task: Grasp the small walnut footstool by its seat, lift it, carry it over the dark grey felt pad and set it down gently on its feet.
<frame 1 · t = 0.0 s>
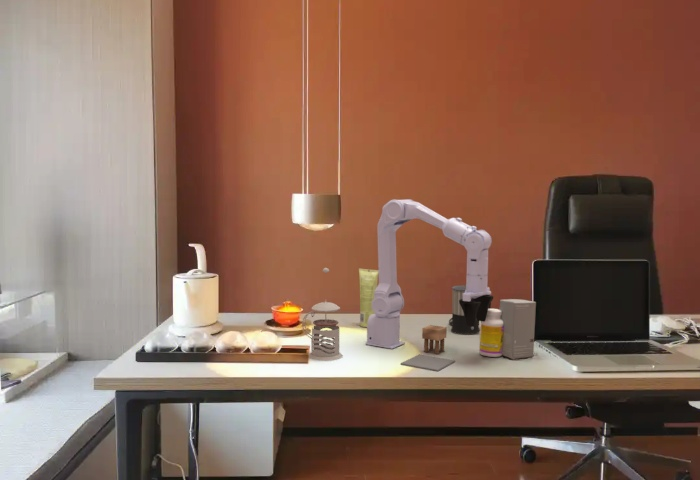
hand: (475, 323, 176), 10 cm above the table, tool pointing down, fingers open, 7 cm apart
pad: (428, 363, 173), on the table
milk frother: (462, 329, 215), on the table
tube: (367, 326, 217), on the table
skincare box: (514, 355, 181), on the table, touching supplement bottle
supplement bottle: (490, 355, 182), on the table, touching skincare box
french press: (322, 356, 180), on the table
stool: (434, 351, 185), on the table
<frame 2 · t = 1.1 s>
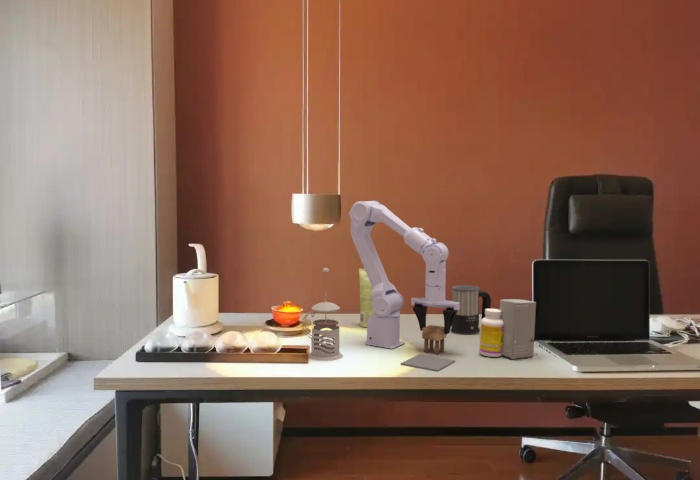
hand: (434, 331, 185), 6 cm above the table, tool pointing down, fingers open, 7 cm apart
nothing on the table moved.
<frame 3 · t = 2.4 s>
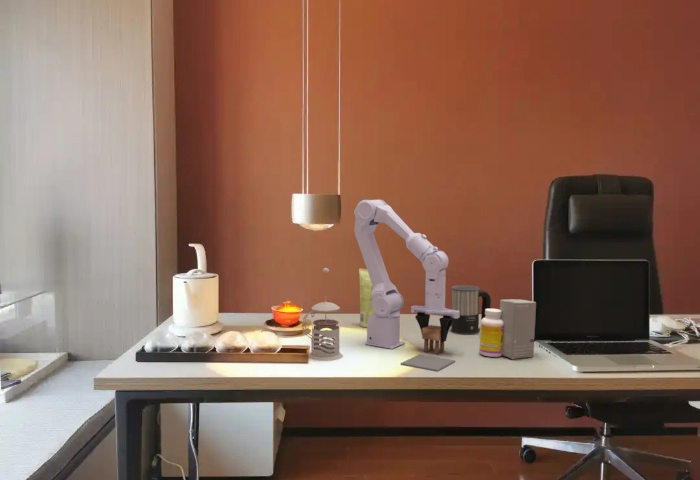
hand: (434, 339, 185), 3 cm above the table, tool pointing down, fingers closed on stool, 5 cm apart
stool: (434, 351, 185), on the table, touching gripper
everything else where it was.
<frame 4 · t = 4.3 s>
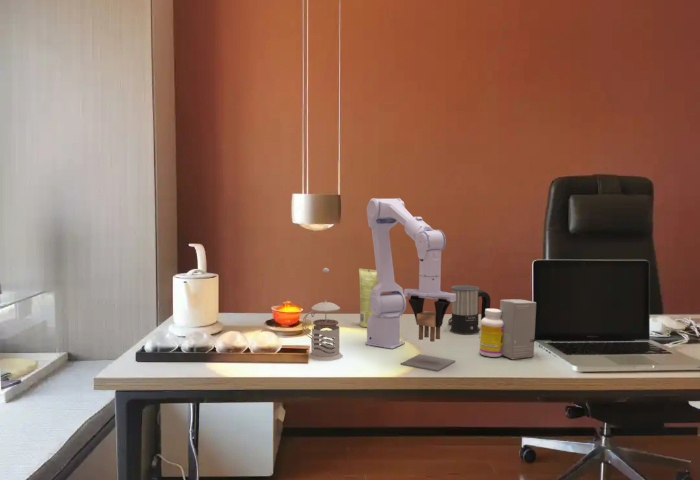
hand: (428, 325, 172), 10 cm above the table, tool pointing down, fingers closed on stool, 5 cm apart
stool: (429, 339, 173), point 7 cm above the table, touching gripper
everything else where it was.
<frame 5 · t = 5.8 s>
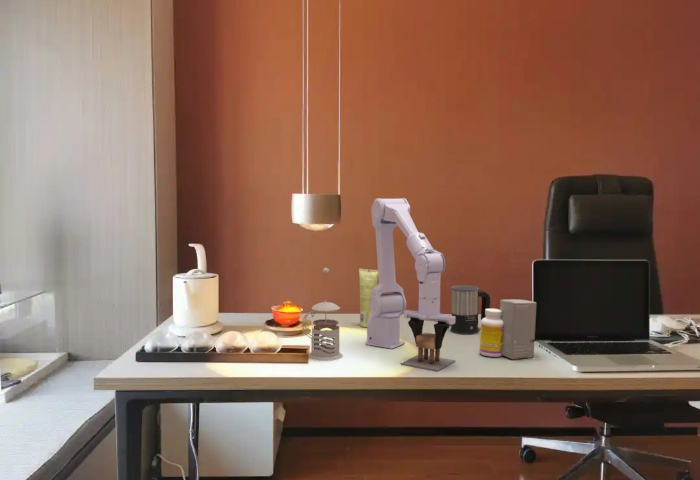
hand: (428, 347, 173), 4 cm above the table, tool pointing down, fingers closed on stool, 5 cm apart
stool: (428, 360, 173), point 1 cm above the table, touching gripper
everything else where it was.
when the fingers open (4 cm above the table, at t = 6.7 s): stool stays where it is, resting on pad.
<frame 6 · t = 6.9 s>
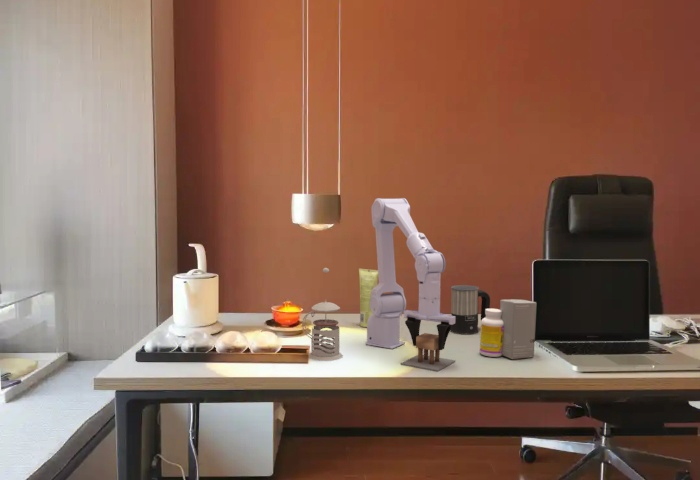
hand: (428, 347, 173), 4 cm above the table, tool pointing down, fingers open, 7 cm apart
stool: (428, 361, 173), resting on pad
everything else where it was.
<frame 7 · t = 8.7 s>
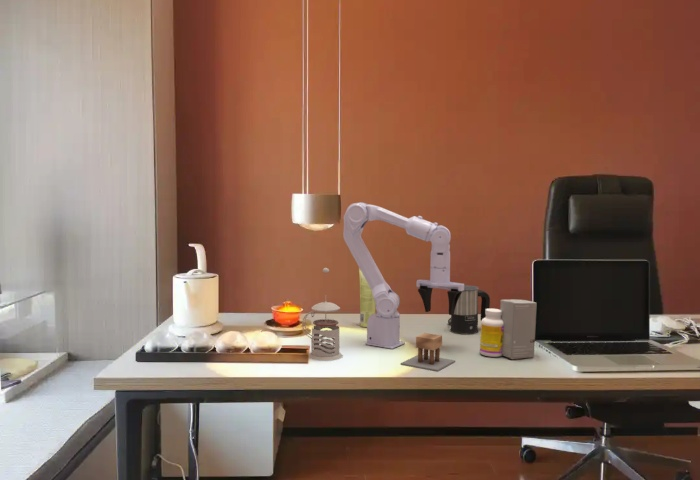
hand: (439, 312, 189), 10 cm above the table, tool pointing down, fingers open, 7 cm apart
nothing on the table moved.
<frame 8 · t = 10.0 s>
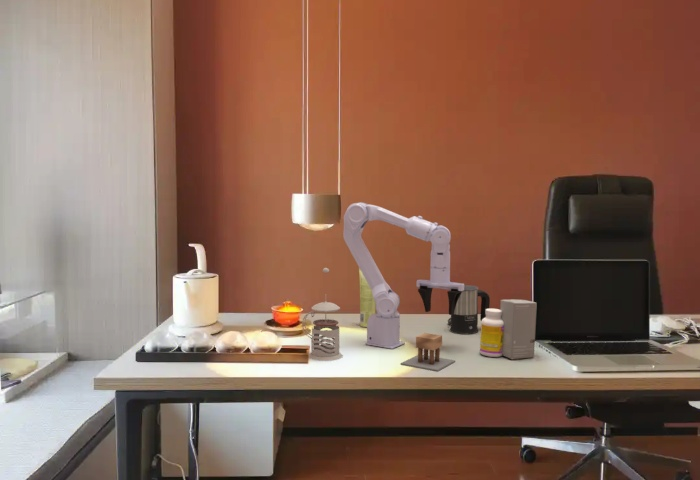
hand: (439, 312, 189), 10 cm above the table, tool pointing down, fingers open, 7 cm apart
nothing on the table moved.
at the end: stool inside the target area on the pad (0.3 cm from its centre), point 0.4 cm above the pad's base; stool tilted 0°; the gripper is holding nothing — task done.
